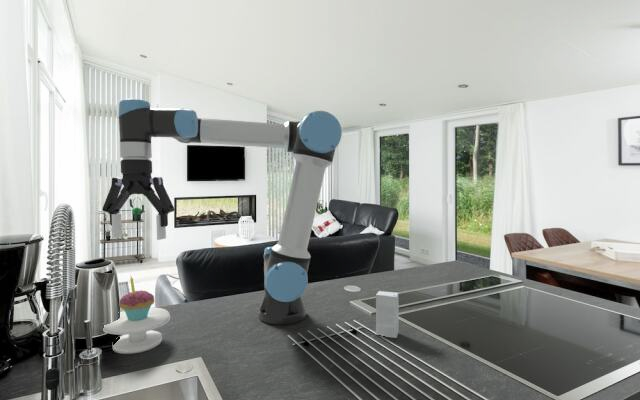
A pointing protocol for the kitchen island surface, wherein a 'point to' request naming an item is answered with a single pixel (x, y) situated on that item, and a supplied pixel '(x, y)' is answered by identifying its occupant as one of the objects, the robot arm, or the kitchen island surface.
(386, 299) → the skincare box
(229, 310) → the kitchen island surface
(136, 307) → the cupcake
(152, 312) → the cake stand
